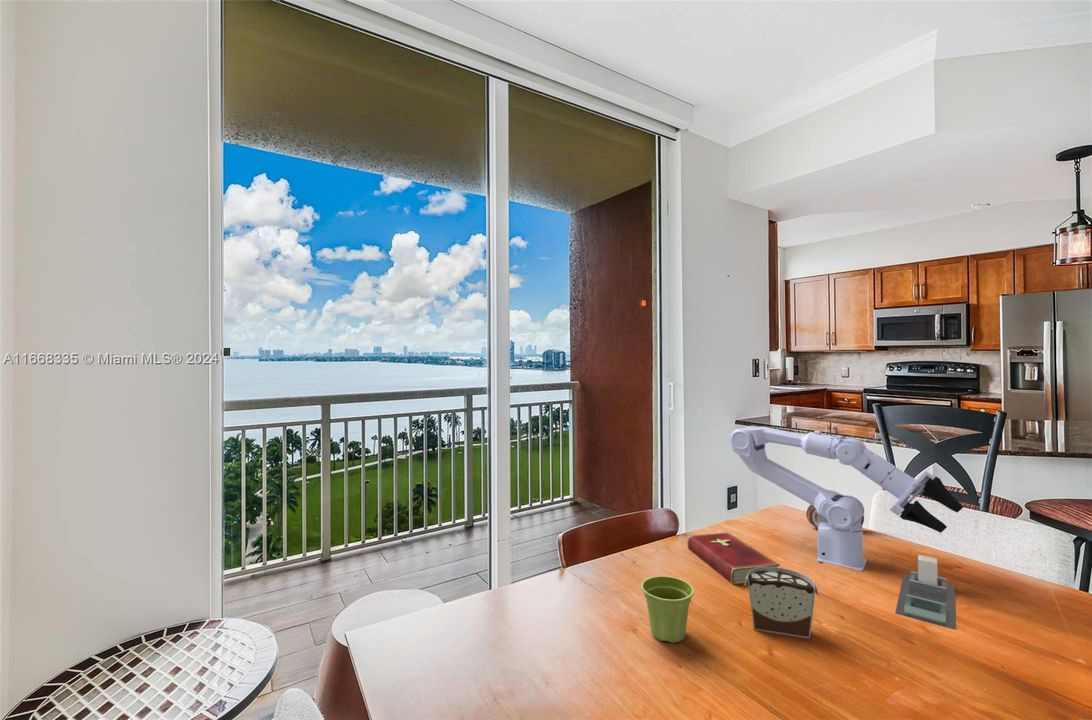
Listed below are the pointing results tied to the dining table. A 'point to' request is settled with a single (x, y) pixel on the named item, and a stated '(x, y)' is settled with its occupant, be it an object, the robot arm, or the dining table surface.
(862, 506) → the robot arm
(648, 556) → the dining table surface
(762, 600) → the grey brown curved-top block
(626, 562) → the dining table surface
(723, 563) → the hardcover book
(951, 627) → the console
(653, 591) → the plant pot
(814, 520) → the tin
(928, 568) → the plug
